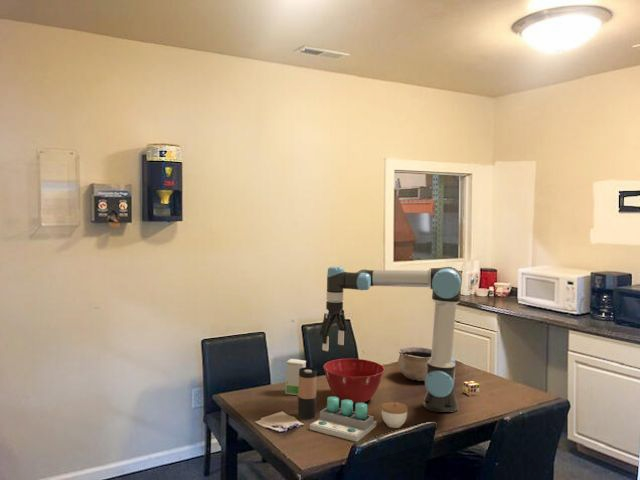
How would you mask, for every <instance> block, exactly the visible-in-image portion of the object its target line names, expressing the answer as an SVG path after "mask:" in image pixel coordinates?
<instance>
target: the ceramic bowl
mask: <svg viewBox="0 0 640 480" xmlns="http://www.w3.org/2000/svg"><path fill="white" fill-rule="evenodd" d="M398 352H399V356H398V359H397V363H398V369H399V370H400V371H401V373H402V375H403V376H404V377H405V378H407V379H408V380H410V379H411V380H410V381H414V380H417V381H416V382H425V378H426V372H427V361H428V360H429V359H430V357H431V354H432V348H431V349H430V348H427V347H419V346H417V347H416V346H407V347H400V348H399V350H398Z"/></svg>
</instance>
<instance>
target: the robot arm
mask: <svg viewBox="0 0 640 480" xmlns="http://www.w3.org/2000/svg"><path fill="white" fill-rule="evenodd" d="M326 274H327V275H326V303H325V305H326V308H325V309H326V311H328V313H325V312H324V315H323V320H322V324H321V328H320V331H319V335H320V336H321V337H322V346H321V349H322V351H325V352H329V345H330V344H329V343H330V340H329V339H330V337H329V334H330V331H331V329H332V327H333V324H335V323H336V325H337V328H338V331H337V345H340V346H344V343H345V332H346V331H347V330H348V329H347V328H348V326H347V321H346V316H345V310H344V309H343V308H344V305H343V304H344V302H343V301H344V290H357V291H368V290H369V289H370V287H394V288H395V287H398V288H399V287H401V288H405V287H406V288H409V287H410V288H428V289H430V290H432V294H431V300H432V301H433V302H434V314H433V315H434V316H433V317H434V318H433V331H432V343H431V350H432V354H431V357H430V359H429V360H428V361H427V372H426V378H425V381H424V386H425V389H426V390H427V391H426V393H425V397H424V399H423V407H424V408H425V409H426V410H427V411H431V412H433V411H435V412H434V413H437V412H451V411H455V410H456V409H457V408H459V404H458V399H457V396H456V393H455V384H456V383H455V382H456V381H455V380H456V366H457V364H456V359H455V358H453V348H454V336H455V335H454V334H455V323H456V322H455V321H456V320H455V319H456V309H457V308H456V307H457V305H458V304H459V303H460V302H461V292H462V284H463V283H462V282H463V277H462V275H461V273H460V271H459V270H458V269H456V268H455V267H452V266H444V267H433V268H432V267H431V268H429V269H428V270H425V269H424V270H423V269H422V270H421V269H420V270H419V269H418V270H416V269H415V270H413V269H412V270H411V269H408V270H407V269H405V270H403V269H401V270H400V269H398V270H396V269H393V270H392V269H391V270H390V269H387V270H386V269H385V270H384V269H382V270H381V269H375V270H373V269H360V270H358V271H356V272H347V271H345V268H344V267H342V266H330V267H328V268H327V273H326ZM457 410H458V409H457ZM455 412H456V411H455Z"/></svg>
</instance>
